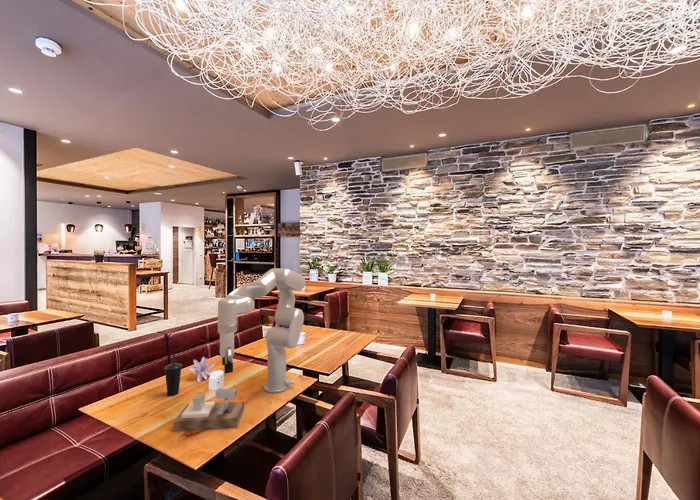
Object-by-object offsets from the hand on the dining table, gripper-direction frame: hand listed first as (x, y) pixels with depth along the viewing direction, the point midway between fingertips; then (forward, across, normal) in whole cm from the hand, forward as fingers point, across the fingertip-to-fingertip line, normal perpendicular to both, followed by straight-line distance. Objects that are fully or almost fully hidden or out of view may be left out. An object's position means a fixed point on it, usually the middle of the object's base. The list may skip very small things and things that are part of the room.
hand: (227, 368), depth 133 cm
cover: (+17, -3, -11) cm, 21 cm away
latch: (+17, +3, -2) cm, 17 cm away
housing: (+21, -2, -6) cm, 22 cm away
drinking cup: (+22, -36, -21) cm, 47 cm away
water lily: (+22, -50, -8) cm, 56 cm away
